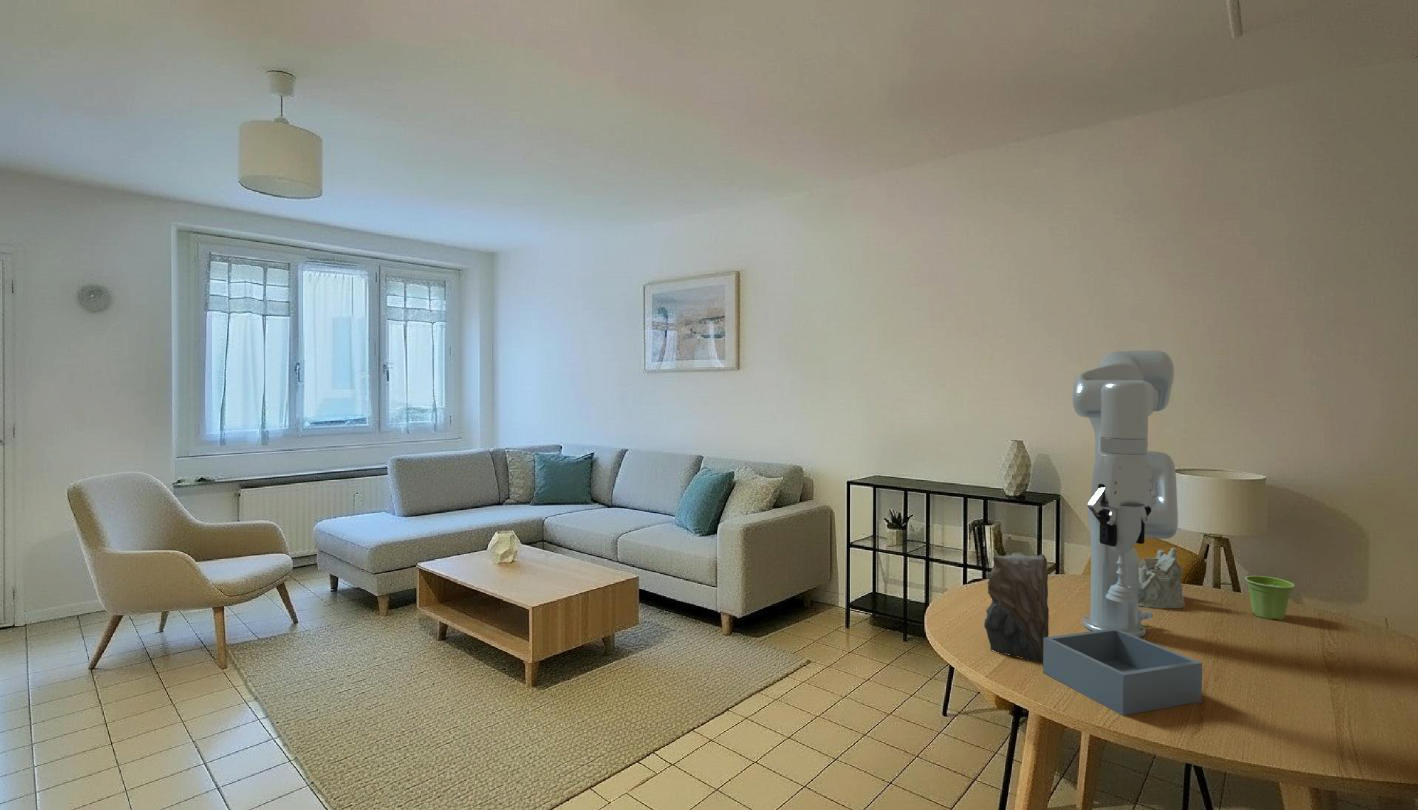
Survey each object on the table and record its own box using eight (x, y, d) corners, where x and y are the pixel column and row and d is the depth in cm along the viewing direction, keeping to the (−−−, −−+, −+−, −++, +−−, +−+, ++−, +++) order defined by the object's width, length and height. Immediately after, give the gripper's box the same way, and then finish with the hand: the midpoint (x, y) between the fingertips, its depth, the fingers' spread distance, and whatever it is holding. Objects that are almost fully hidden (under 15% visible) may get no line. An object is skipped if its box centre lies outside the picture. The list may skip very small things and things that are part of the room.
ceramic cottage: (1166, 590, 185) (1164, 537, 185) (1197, 612, 169) (1195, 554, 169) (1104, 590, 189) (1102, 538, 188) (1128, 612, 173) (1126, 555, 172)
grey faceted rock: (982, 650, 144) (983, 557, 143) (996, 632, 154) (997, 546, 154) (1048, 664, 137) (1049, 566, 136) (1057, 645, 147) (1058, 554, 146)
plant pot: (1299, 617, 164) (1300, 582, 164) (1286, 625, 159) (1287, 589, 159) (1252, 607, 172) (1252, 573, 172) (1238, 614, 167) (1238, 579, 166)
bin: (1114, 661, 138) (1115, 628, 138) (1201, 701, 121) (1202, 662, 120) (1043, 672, 133) (1043, 637, 133) (1122, 715, 115) (1123, 675, 115)
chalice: (1091, 592, 130) (1092, 500, 129) (1124, 591, 130) (1125, 499, 130) (1117, 605, 122) (1119, 507, 122) (1152, 604, 123) (1154, 506, 122)
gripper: (1141, 444, 131) (1139, 536, 132) (1070, 447, 126) (1068, 542, 127) (1177, 447, 124) (1175, 544, 125) (1104, 451, 119) (1102, 551, 120)
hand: (1121, 542), depth 126 cm, fingers closed on chalice, 5 cm apart
